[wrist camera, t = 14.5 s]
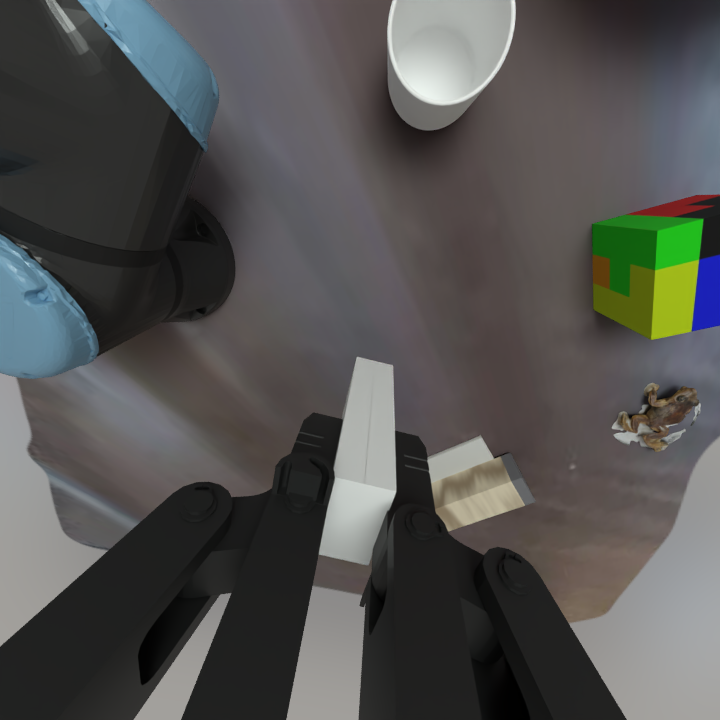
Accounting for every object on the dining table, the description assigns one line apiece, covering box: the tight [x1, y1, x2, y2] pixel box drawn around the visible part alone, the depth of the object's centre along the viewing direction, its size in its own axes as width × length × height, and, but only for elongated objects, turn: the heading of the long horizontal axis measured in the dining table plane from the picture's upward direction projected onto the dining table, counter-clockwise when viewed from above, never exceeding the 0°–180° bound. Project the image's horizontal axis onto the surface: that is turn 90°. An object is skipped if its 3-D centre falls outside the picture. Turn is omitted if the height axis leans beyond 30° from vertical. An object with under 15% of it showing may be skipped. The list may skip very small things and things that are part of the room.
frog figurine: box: [612, 383, 701, 452], centre depth 45 cm, size 12×12×4 cm
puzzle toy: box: [592, 195, 720, 340], centre depth 34 cm, size 10×10×10 cm
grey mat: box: [427, 435, 494, 483], centre depth 54 cm, size 16×14×1 cm
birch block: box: [431, 453, 536, 531], centre depth 51 cm, size 5×5×20 cm
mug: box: [387, 0, 516, 131], centre depth 27 cm, size 9×12×11 cm
